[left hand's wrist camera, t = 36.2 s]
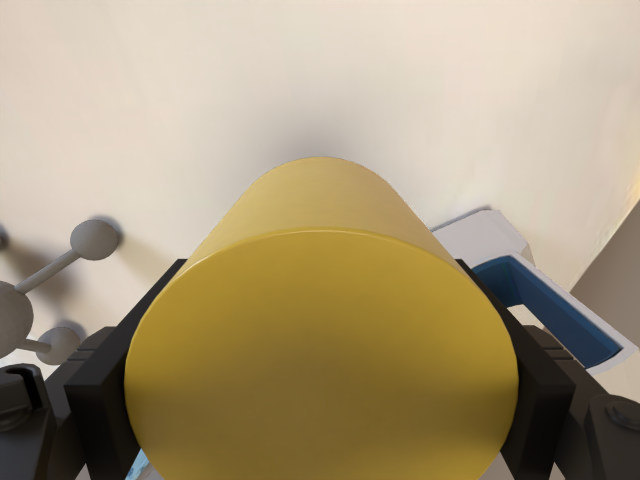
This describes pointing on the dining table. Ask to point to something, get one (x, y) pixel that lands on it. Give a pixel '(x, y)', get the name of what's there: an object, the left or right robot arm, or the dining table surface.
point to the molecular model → (11, 302)
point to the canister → (321, 344)
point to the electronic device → (542, 298)
